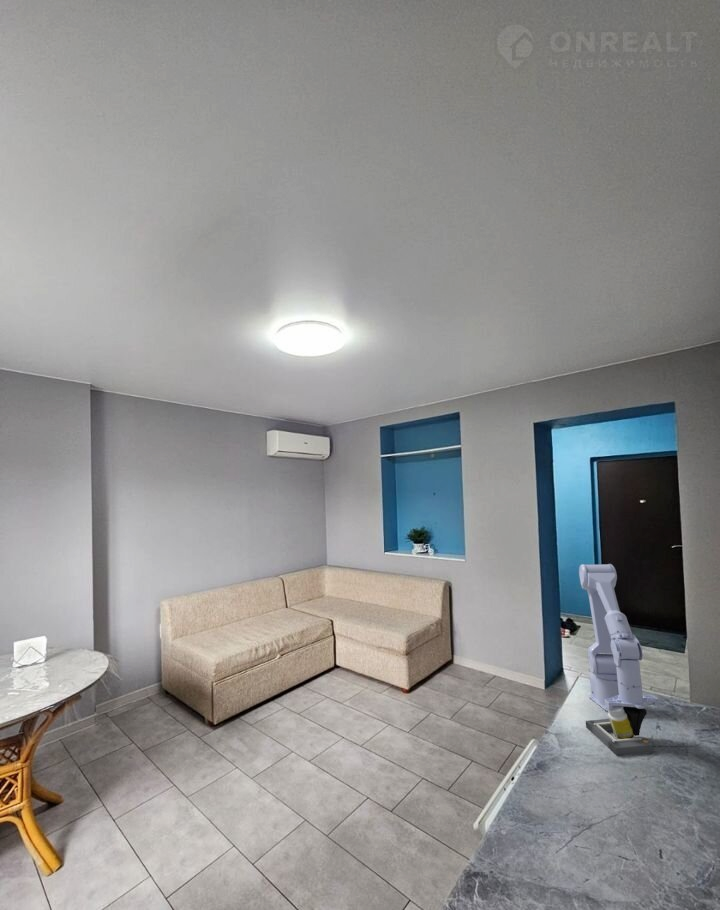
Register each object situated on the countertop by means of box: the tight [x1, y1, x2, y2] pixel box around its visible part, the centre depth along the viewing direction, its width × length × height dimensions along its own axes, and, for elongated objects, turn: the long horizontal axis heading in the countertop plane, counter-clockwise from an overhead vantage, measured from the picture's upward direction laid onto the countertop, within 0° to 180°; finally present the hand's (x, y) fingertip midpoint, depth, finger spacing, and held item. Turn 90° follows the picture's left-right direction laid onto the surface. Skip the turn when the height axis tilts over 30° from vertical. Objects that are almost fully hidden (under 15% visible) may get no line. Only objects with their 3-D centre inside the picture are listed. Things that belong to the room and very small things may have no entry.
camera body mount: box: [585, 718, 654, 756], centre depth 114 cm, size 13×10×2 cm
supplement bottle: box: [607, 706, 635, 740], centre depth 115 cm, size 5×5×8 cm
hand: (634, 733), depth 115 cm, fingers closed
